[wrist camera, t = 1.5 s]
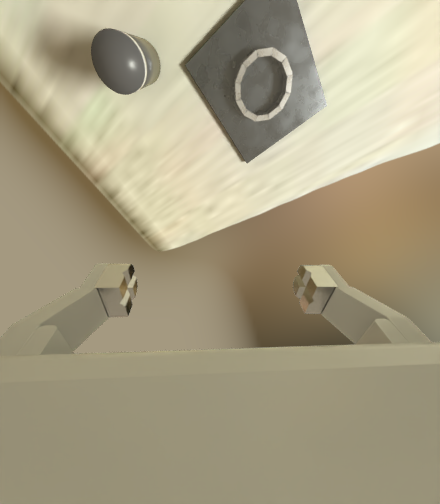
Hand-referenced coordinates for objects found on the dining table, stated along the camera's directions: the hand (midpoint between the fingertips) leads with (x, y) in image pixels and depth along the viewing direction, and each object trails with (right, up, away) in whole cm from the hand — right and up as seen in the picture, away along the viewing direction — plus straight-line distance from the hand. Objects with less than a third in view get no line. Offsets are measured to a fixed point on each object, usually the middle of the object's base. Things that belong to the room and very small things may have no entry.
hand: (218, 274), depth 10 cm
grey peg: (-12, +30, +20) cm, 38 cm away
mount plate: (+7, +28, +23) cm, 37 cm away
